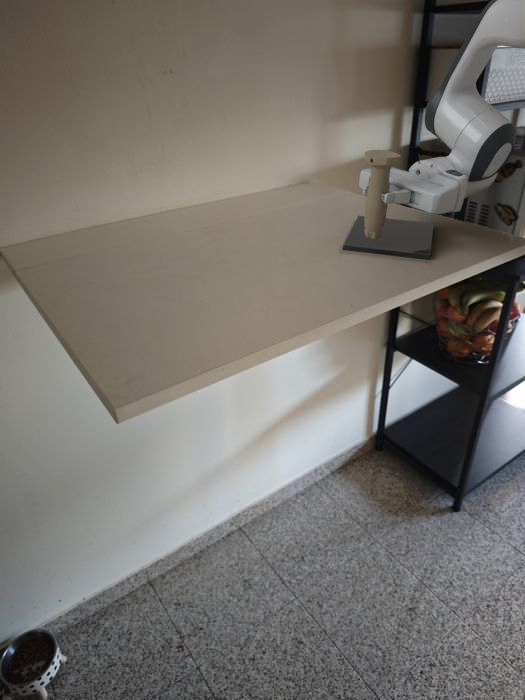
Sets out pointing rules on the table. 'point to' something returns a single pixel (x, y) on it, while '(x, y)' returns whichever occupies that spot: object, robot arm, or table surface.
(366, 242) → the dark grey square plate
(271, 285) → the table surface
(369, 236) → the handle
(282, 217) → the table surface
